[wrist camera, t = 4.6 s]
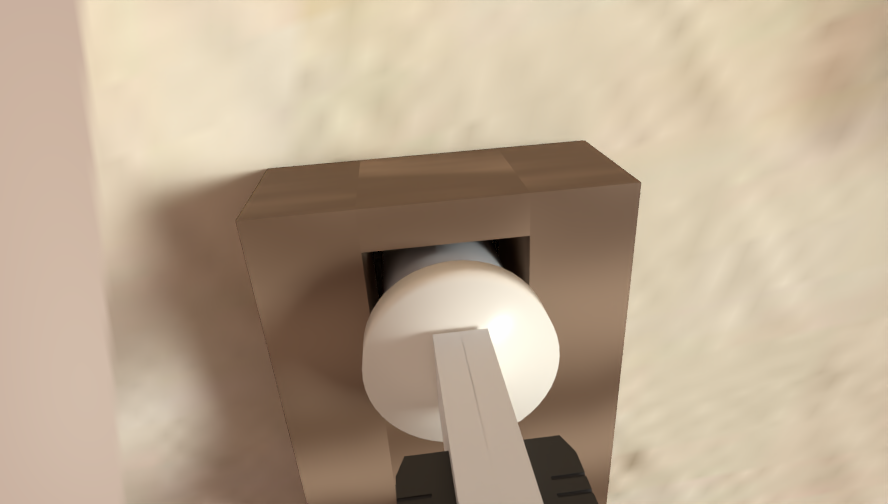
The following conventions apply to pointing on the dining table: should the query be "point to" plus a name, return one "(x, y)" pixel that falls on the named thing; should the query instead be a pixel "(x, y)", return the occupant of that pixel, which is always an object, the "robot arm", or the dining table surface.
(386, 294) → the knob
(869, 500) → the dining table surface
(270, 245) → the panel
